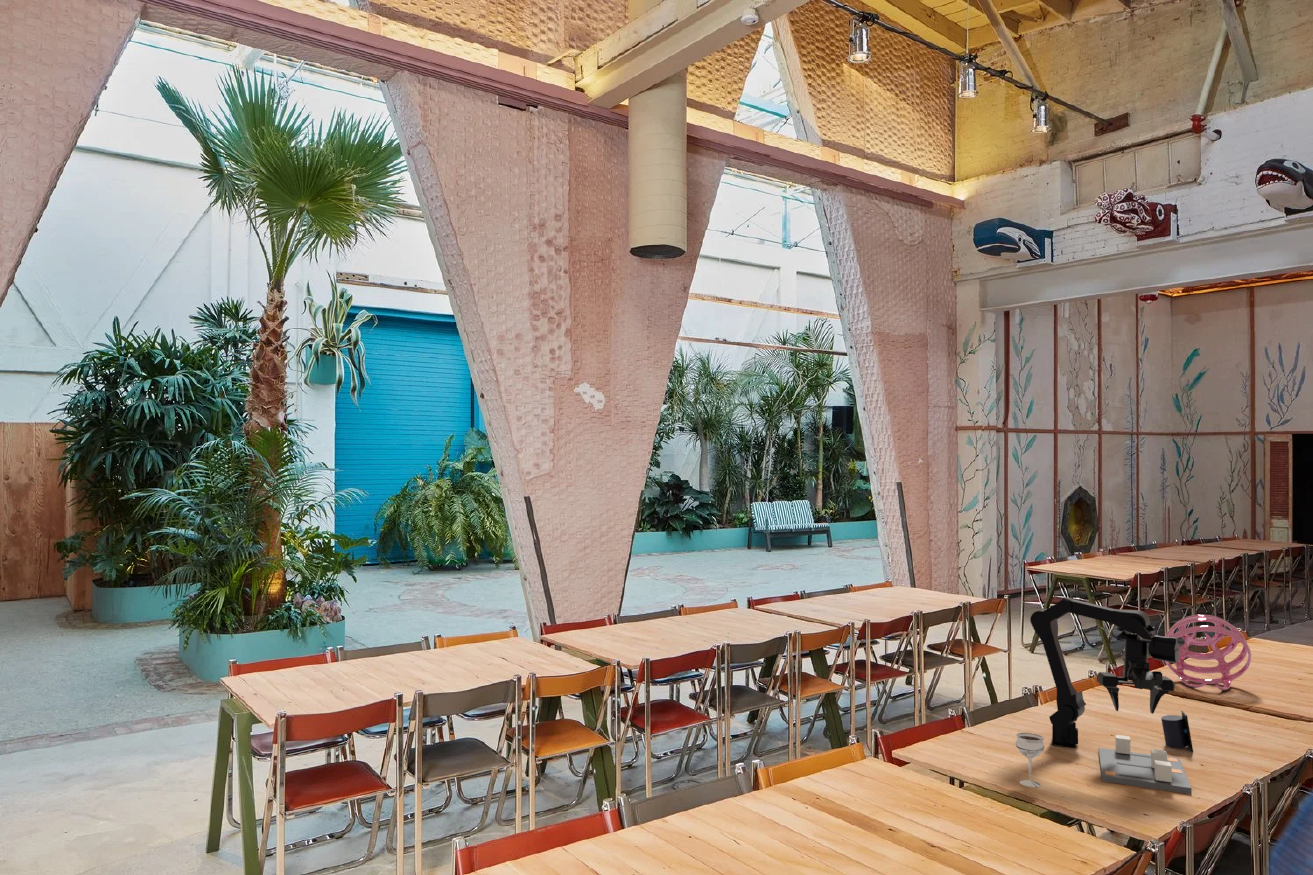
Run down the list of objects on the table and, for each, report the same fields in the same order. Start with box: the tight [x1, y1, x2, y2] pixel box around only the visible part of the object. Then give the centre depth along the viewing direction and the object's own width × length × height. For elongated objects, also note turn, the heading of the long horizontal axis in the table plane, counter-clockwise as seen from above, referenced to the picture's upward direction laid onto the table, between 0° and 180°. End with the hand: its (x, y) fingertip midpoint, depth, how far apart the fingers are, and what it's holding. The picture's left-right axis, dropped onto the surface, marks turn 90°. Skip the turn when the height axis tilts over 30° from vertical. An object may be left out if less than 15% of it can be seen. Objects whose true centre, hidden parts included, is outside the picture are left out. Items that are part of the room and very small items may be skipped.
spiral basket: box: [1164, 614, 1252, 692], centre depth 331 cm, size 28×28×27 cm
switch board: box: [1098, 747, 1193, 795], centre depth 237 cm, size 20×25×2 cm
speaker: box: [1160, 710, 1194, 753], centre depth 259 cm, size 8×6×10 cm
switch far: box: [1115, 734, 1131, 754], centre depth 248 cm, size 4×4×4 cm
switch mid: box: [1150, 748, 1168, 768], centre depth 236 cm, size 4×4×4 cm
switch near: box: [1155, 760, 1172, 782], centre depth 227 cm, size 4×4×4 cm
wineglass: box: [1015, 732, 1045, 788], centre depth 228 cm, size 7×7×12 cm
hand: (1134, 711), depth 249 cm, fingers open, 9 cm apart
